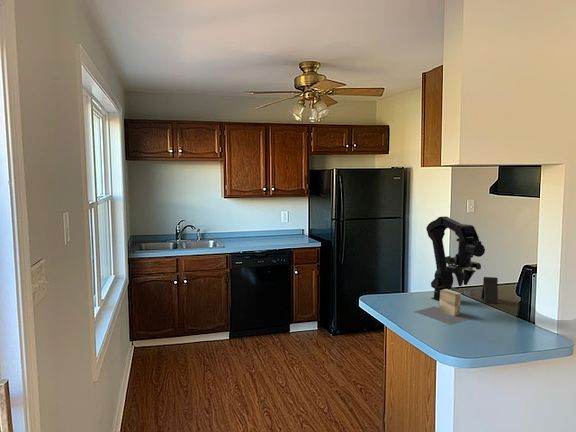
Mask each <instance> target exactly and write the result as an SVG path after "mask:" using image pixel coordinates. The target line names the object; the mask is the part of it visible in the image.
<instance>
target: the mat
mask: <svg viewBox="0 0 576 432" xmlns="http://www.w3.org/2000/svg"><path fill="white" fill-rule="evenodd" d="M413 313H416V314H419V315H422V316H423V317H427V318H430V319H433V320H436V321H439V322H442V323H444V324H448V325H450V326H452V325H455V324H460V323H462V322H464V321H468V320H472V317H469V316H466V315H463V314H461V313H460V314H459V315H457V316H451V315H448V314H445V313H442V312H439V306H435V305H434V306H429V307H427V308H422V309H418V310H415V311H413Z"/></svg>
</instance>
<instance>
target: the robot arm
mask: <svg viewBox="0 0 576 432" xmlns="http://www.w3.org/2000/svg"><path fill="white" fill-rule="evenodd" d="M447 229H449V230H451V231H453V232H454V235H456V237H457V238H456V240H455V241H456V242H458V246H457V248H458V249H457V253H455V256H454V257H451V255H448V256H446V253H445V247H444V241H443V239H444V237H445V235H446V234H445V233H446V230H447ZM426 233H427V235H428V238H429V239H430V240H431V242H432V248H433V254H434V260H435V266H436V271H435V272H434V278H433V279H432V281H431V282H430V286H431V288H433V289H434V291H433V297H431V300H435V301H438V302H440V290H443V289H448V290H451V289H452V287H453V284H454V276H453V274H454V275H455V277H456V281H457V284H458V287H462V285H463V286H467V285H468V283H469V282H470V280H471V278H472V276H473V275H474V274H475V272H476V270H478V271H479V270H482V269H481V268H482V265H481V262H477V261H476V262H475V261H472V258H474V257H479V258H481V257H482V256H484V254H485V253H486V248H485V246H484V245H483V244H482V241H481V240H480V239H479V236H478V235H479V234H478V233H477V231H476V228H475V226H474V225H473V224H466V223H465V224H464V223H460V222H459V221H456V220H454V219H452V218H450V217H448V216H439V217H437V218H436V219H434V220H432V221H431V222H429V223H428V224H427V226H426ZM475 269H476V270H475Z"/></svg>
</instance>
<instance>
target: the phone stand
mask: <svg viewBox="0 0 576 432" xmlns="http://www.w3.org/2000/svg"><path fill="white" fill-rule="evenodd" d="M498 280H499V278H498V277H491V276H484V277H483V283H482V288H481V294H480V299H481V300H482V301H483V302H484V304H499V295H498V294H499V293H498V289H499V288H498Z"/></svg>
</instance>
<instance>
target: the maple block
mask: <svg viewBox="0 0 576 432" xmlns="http://www.w3.org/2000/svg"><path fill="white" fill-rule="evenodd" d="M461 295H462V293H461V292H458V291H454V290H451V289H449V288H448V289H443V290H440V301H438V302H439V306H438V308H439V312H442V313H445V314H448V315H451V316H457V315H459V314H460V315H461V313H460V311H461V297H462V296H461Z"/></svg>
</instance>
